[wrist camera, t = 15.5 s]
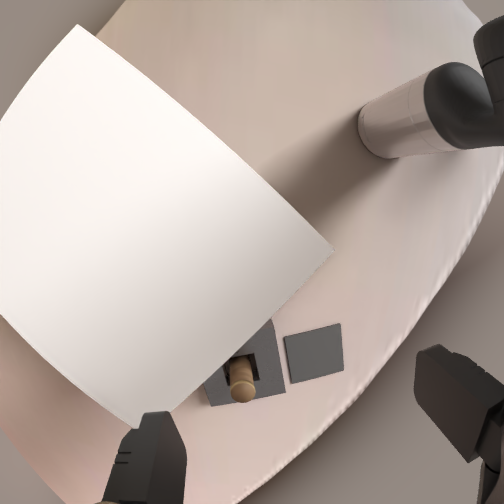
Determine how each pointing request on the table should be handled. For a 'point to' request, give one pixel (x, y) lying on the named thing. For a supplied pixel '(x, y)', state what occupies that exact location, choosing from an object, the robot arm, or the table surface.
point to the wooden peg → (241, 379)
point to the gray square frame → (264, 378)
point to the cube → (135, 234)
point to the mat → (315, 353)
